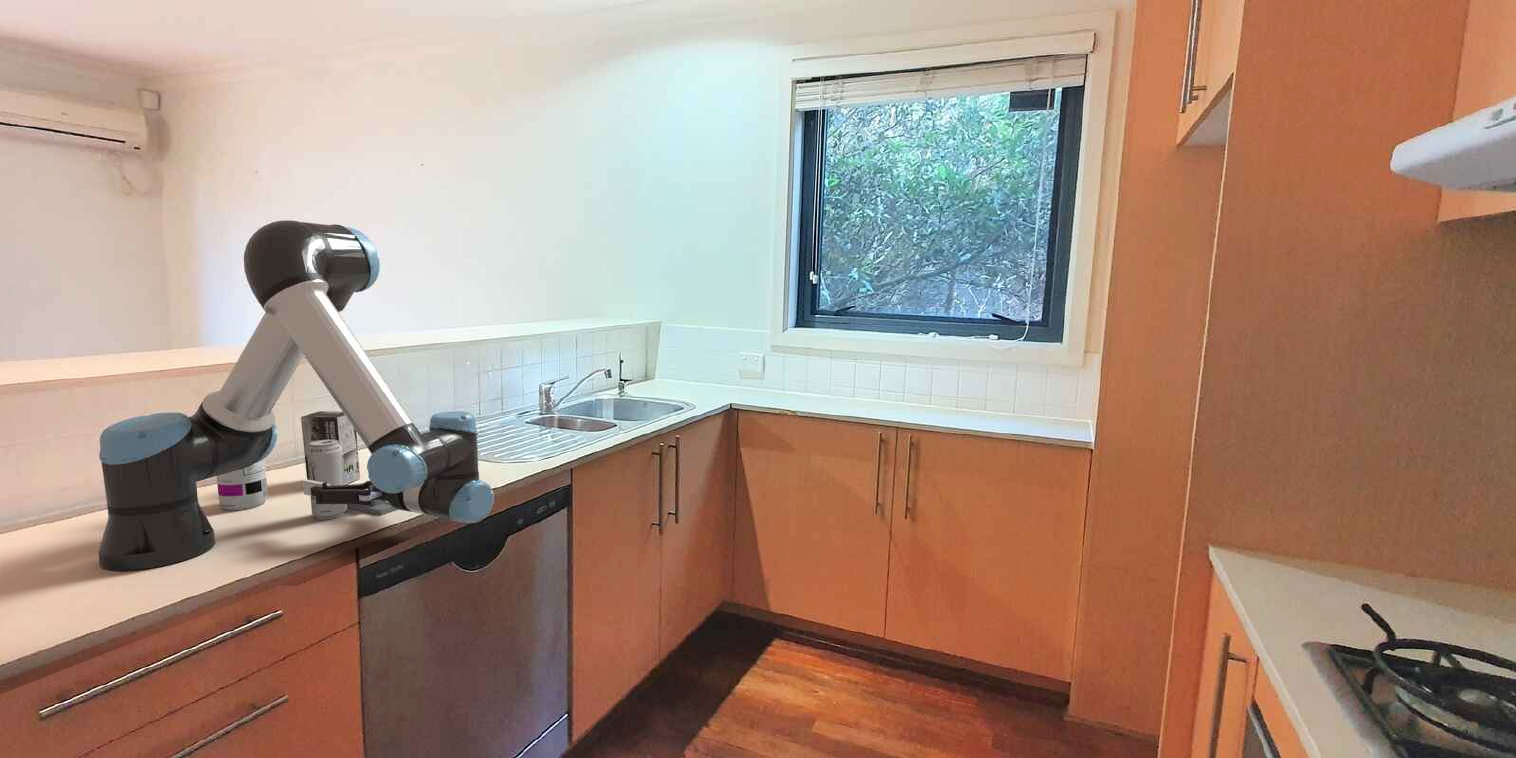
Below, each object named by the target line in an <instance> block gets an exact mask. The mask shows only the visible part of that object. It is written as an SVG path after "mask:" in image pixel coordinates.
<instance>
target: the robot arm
mask: <svg viewBox="0 0 1516 758" xmlns="http://www.w3.org/2000/svg"><path fill="white" fill-rule="evenodd" d="M380 263H381V262H380V258H379V257H378V251H377V248H376V246H375V244H373V242H372V241H371V239H370V238H369V237H368V236H367V235H366V234H364V233H363V232H362V231H360V230H358V229H356V228H353V227H347V226H344V225H341V224H335V223H334V224H322V223H314V222H306V221H305V222H304V221H298V220H291V219H289V220H285V219H284V220H277V221H274V222H273V221H271V222H270V223H268V224H266V225H263V226H261V227H260V228H258V229H257V230H256V231H255V232H254V233H253V234H252V236H250V238H249V239H248V241H247V244H246V246H245V249H244V252H243V269H244V270H243V271H244V274H245V277H246V280H247V281H246V282H247V283H248V285H249V288H250V290H251V292H252V294H253V296H254V297H255V299H256V300H257V302H258V303H259V304H260V306H261V308H262V310H263V311H264V314H263V316H262V318H261V319H260V321H259V323H258V325H257V326H256V328H255V329H254V332H253V334H252V335H251V337H250V338H249V340H248V342H247V343H246V344H245V345H246V346H244V349H243V351H241V354H240V355H239V357H238V359H237V360H236V362H235V365H234V366H233V367H232V369H231V371H230V373H228V376H227V378H226V380H225V381H224V383H223V385H222V387H221V388H220V390H217V391H213V392H209V393H208V394H207V395H205V396H204V398H203V399H202V401H201V403H200V404H199V406H198V408H197V410H196V411H195V413H194V414H193V415H191V416H188V415H187V414H185V413H182V412H159V413H151V414H149V415H140V416H135V417H131V418H128V419H123V420H120V421H118V422H116V423H113V424H111V425H109V426H108V427H106V428H105V429H104V430H103V431H102V433H101V434H100V437H99V453H98V456H99V457H98V458H99V461H100V462H101V467H102V469H101V470H102V476H103V482H104V491H105V500H106V506H107V507H106V508H107V515H108V516H107V517H108V518H107V521H106V525H105V529H104V532H103V535H102V538H101V540H100V545H99V548H98V553H97V554H98V563H99V566H100V568H102V569H106V570H108V571H109V570H111V571H135V570H136V571H137V570H145V569H152V568H158V567H162V566H167V565H171V564H176V563H180V562H183V561H186V560H189V559H192V558H195V557H198V556H199V555H202V554H204V553H206V552H208V551H209V550H210V549H211V550H212V549H213V548H214V546H215V544H216V536H215V531H214V528H213V527H212V525H211V523H210V521H209V520H208V517H207V516H206V514H205V512H204V511H203V509H202V506H201V505H200V503H199V498H198V487H197V482H202V481H205V480H207V479H211V478H215V477H216V476H218V475H222V474H225V473H229V472H232V471H236V470H240V469H244V468H247V467H249V466H251V465H253V464H255V463H257V462H259V461H261V460H263V459H265V458H267V457H268V456H269V455H270V454H271V452H273V450H274V448H275V446H276V443H277V440H278V433H277V432H275V431H276V430H277V424H276V416H275V413H274V411H273V408H274V406H275V405H276V404H277V402H278V400H279V398H280V397H281V395H282V394H283V392H284V390H285V389H286V387H287V386H288V384H289V382H290V380H291V379H292V377H293V375H294V374H295V372H296V370H297V369H298V367H299V366H300V363H301V362H302V360H303V359H304V358H305V359H306V360H307V362H308V363H309V364H310V366H311V367H312V369H313V371H314V372H315V373H316V375H317V377H318V378H319V379H320V381H321V382H322V384H323V385H324V387H325V388H326V389H327V391H328V393H330V396H331V397H332V398H333V400H334V401H335V402H336V404H337V405H338V407H339V408H340V410H341V412H343V413H344V414H345V416H346V417H347V419H348V420H349V422H350V423H351V424H352V426H353V427H354V429H355V430H356V434H357V435H358V437H360V440H361V441H362V442H363V443H364V445H365V447H366V448H367V449H368V451H369V453H370V454H371V455H370V456H369V458H368V460H367V464H366V470H367V471H368V472H367V473H368V478H369V480H366V481H365V483H364V482H363V483H364V484H361V483H356V484H355V483H354V484H346V485H337V486H331V485H330V484H328V483H327V482H325V483H323V482H318V481H312V480H307V479H304V480H302V484H303V485H302V487H303V494H304V495H305V496H309V497H311V496H314V497H316V504H361V505H370V504H372V503H371V500H382V501H385V500H387V501H388V502H389V503H390V505H391V506H392V507H394V508H396V509H398V510H400V511H403V512H404V511H405V512H409V513H410V512H411V513H417V514H421V515H426V516H428V518H432V517H437V518H442V519H446V520H450V521H452V522H453V521H454V522H456V523H457V522H458V523H465V524H467V523H470V524H474V523H479V522H481V521H483V520H484V519H486V517H487V516H488V515H489V514H490V512H491V510H492V508H493V506H494V502H495V494H494V491H493V489H492V487H491V485H490V484H489V483H487V482H485V481H483V480H481V479H480V472H479V451H478V450H479V448H478V446H479V445H478V431H477V422H476V421H477V420H476V416H475V415H474V414H473V413H471V412H468V411H462V410H461V411H460V410H455V411H454V410H453V411H444V412H438V413H435V414H432V416H431V417H430V419H429V427H428V429H429V431H426V432H423V433H421V432H420V431H419V429H418V427H417V426H416V425H415V424H414V422H413V420H412V419H411V418H410V416H409V415H408V413H407V411H406V410H405V409H404V407H403V406H402V404H401V403H400V401H399V400H398V399H397V397H396V395H395V394H394V393H393V391H392V390H391V388H390V386H389V385H388V384H387V381H386V380H385V379H384V378H383V376H382V375H381V373H380V372H379V370H378V369H377V367H376V365H375V364H374V363H373V362H372V360H371V358H370V357H369V355H368V354H367V353H366V351H365V349H364V348H363V346H362V345H361V343H360V342H359V340H358V339H357V337H356V336H355V335H354V333H353V332H352V330H351V328H350V327H349V326H348V325H347V324H348V323H346V321H345V320H344V318H343V316H342V315H341V314H340V313H342V312H343V311H344V310H345V308H346V306H347V305H348V303H349V301H350V300H351V298H352V296H353V294H354V293H360V292H364V291H365V290H368V289H370V288H371V287H372V286H373V285H374V284H375V282H376V281H377V279H378V277H379V274H380V271H381V270H380V268H381V264H380ZM370 485H373V492H371V491H370Z"/></svg>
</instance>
